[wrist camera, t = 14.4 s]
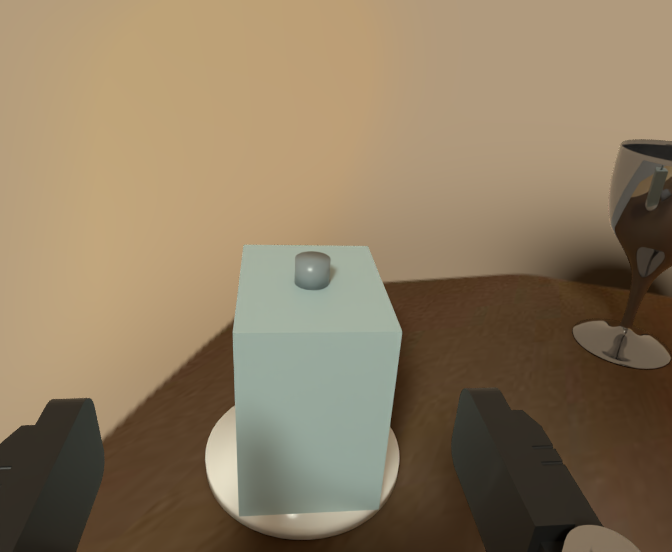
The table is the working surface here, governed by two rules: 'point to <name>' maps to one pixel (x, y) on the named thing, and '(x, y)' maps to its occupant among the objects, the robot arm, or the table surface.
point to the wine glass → (636, 251)
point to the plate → (284, 525)
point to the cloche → (312, 379)
